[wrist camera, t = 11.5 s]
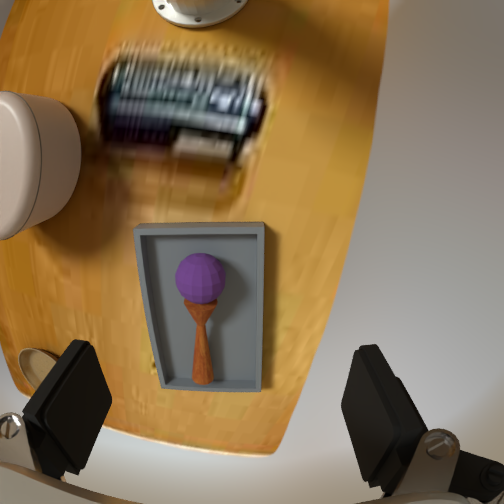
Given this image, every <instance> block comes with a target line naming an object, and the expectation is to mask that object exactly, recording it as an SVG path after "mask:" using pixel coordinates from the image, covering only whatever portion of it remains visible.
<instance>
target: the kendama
mask: <svg viewBox="0 0 504 504" xmlns="http://www.w3.org/2000/svg"><path fill="white" fill-rule="evenodd" d="M225 278H226V273H225V270H224V268H223V266H222V264H221V263H220V261H218V260H217V259H216V258H215V257H214V256H212V255H210V254H206V253H194V254H191V255H189V256H187V257H186V258H185V259H184V260H182V261H181V262H180V264H179V266H178V269H177V271H176V273H175V283H176V286H177V288H178V290H179V292H180V294H181V296H183V297H184V298H185V299H184V304H185V306H186V308H187V310H188V311H189V313H190V314H191V316H192V318H193V319H194V321H195V322H196V324H197V328H196V337H195V347H194V358H193V369H192V379H193V381H194V382H195V383H197V384H199V385H206V384H209V383H211V382H212V381H213V379H214V374H213V368H212V363H211V357H210V351H209V345H208V338H207V332H206V325H205V324H206V322H207V321H208V319H209V317H210V316H211V314H212V312H213V311H214V309H215V307H216V306H217V302H218V301H217V299H216V298H217V297H218V296H219V295H220V294H221V293H222V291H223V289H224V287H225Z"/></svg>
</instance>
